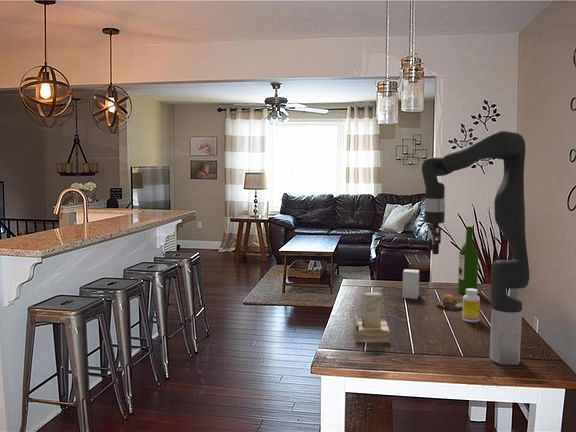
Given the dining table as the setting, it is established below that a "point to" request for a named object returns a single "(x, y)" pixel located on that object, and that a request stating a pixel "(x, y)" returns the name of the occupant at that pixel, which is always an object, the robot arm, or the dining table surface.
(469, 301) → the supplement bottle
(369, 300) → the skincare box
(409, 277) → the supplement box
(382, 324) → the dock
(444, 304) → the burger
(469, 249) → the wine bottle
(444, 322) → the dining table surface
